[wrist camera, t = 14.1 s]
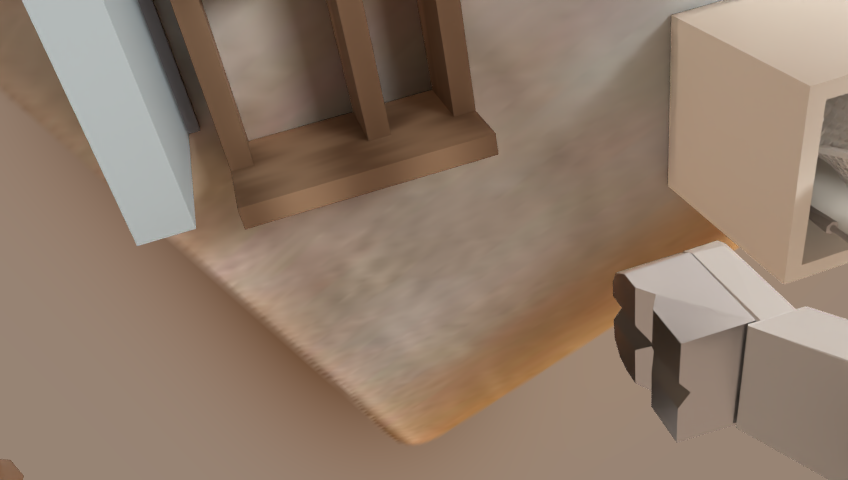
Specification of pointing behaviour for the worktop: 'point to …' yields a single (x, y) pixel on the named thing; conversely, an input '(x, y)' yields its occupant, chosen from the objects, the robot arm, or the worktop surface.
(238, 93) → the worktop surface
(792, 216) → the open white box
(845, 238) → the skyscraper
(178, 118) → the pale blue-grey board
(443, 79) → the rack
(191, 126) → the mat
